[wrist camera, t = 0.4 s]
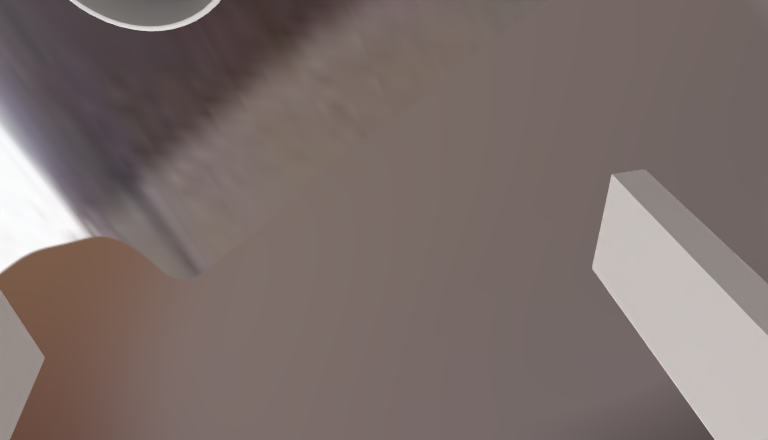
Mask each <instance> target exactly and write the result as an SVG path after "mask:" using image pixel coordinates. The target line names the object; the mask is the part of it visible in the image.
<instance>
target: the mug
mask: <svg viewBox="0 0 768 440" xmlns="http://www.w3.org/2000/svg"><path fill="white" fill-rule="evenodd" d="M70 1H71V2H73V3H74V4H75V5H77V6H78V7H80V8H81V9H83V10H84V11H86V12H88V13H89V14H91V15H93V16H95V17H97V18H99V19H101V20H103V21H106V22H108V23H111V24H114V25H117V26H120V27H124V28H129V29H133V30H142V31H163V30H169V29H175V28H178V27H182V26H185V25H187V24H190V23H192V22H194V21H196V20H198V19H199V18H201V17H203V16H204V15H206V14H207V13H208V12H209V11H211V10H212V9H213V8H214V7H215V6H216V5H217V4H218V3H219V2H220V1H221V0H70Z"/></svg>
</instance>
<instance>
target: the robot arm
mask: <svg viewBox="0 0 768 440" xmlns="http://www.w3.org/2000/svg"><path fill="white" fill-rule="evenodd" d="M592 269H593V270H594V272H595V273H596V274H597V276H598V277H599V279H600V280H601V281H602V283H603V284H604V286H605V287H606V288H607V290H608V291H609V293H610V294H611V295H612V297H613V298H614V300H615V301H616V302H617V304H618V305H619V307H620V308H621V309H622V311H623V312H624V314H625V315H626V316H627V318H628V319H629V321H630V322H631V323H632V325H633V326H634V328H635V329H636V330H637V332H638V333H639V335H640V336H641V337H642V339H643V340H644V342H645V343H646V344H647V346H648V347H649V349H650V350H651V351H652V353H653V354H654V356H655V357H656V358H657V360H658V361H659V362H660V364H661V365H662V366H663V368H664V369H665V371H666V372H667V374H668V375H669V376H670V378H671V379H672V381H673V382H674V383H675V385H676V386H677V387H678V389H679V390H680V392H681V393H682V395H683V396H684V397H685V399H686V400H687V402H688V403H689V404H690V406H691V407H692V409H693V410H694V411H695V413H696V414H697V416H698V417H699V418H700V420H701V421H702V423H703V424H704V425H705V427H706V428H707V430H708V431H709V432H710V434H711V435H712V437H713V438H714V439H715V440H768V284H767V283H766V282H765V281H764V280H763V279H762V278H761V277H759V275H757V274H756V273H755V272H754V271H753V270H752V269H751V268H750V267H749V266H748V265H747V264H746V263H745V262H744V261H742V260H741V259H740V258H739V257H738V256H737V255H736V254H735V253H734V252H733V251H732V250H731V249H730V248H729V247H727V246H726V245H725V244H724V243H723V242H722V241H721V240H720V239H719V238H718V237H717V236H716V235H715V234H714V233H712V232H711V231H710V230H709V229H708V228H707V227H706V226H705V225H704V224H703V223H702V222H701V221H700V220H698V219H697V218H696V217H695V216H694V215H693V214H692V213H691V212H690V211H689V210H688V209H687V208H685V207H684V206H683V205H682V204H681V203H680V202H679V201H678V200H677V199H676V198H675V197H674V196H673V195H672V194H671V193H669V192H668V191H667V190H666V189H665V188H664V187H663V186H662V185H661V184H660V183H659V182H658V181H657V180H655V179H654V178H653V177H652V176H651V175H650V174H649V173H648V172H647V171H646V170H645V169H643V170H637V171H630V172H623V173H616V174H612V176H611V181H610V186H609V190H608V195H607V200H606V204H605V209H604V214H603V219H602V223H601V229H600V233H599V237H598V242H597V247H596V252H595V257H594V261H593V266H592ZM44 358H45V357H44V356H43V354H42V353H41V351H40V350H39V348H38V347H37V345H36V344H35V342H34V341H33V339H32V338H31V336H30V335H29V333H28V332H27V330H26V328H25V327H24V325H23V324H22V322H21V321H20V319H19V318H18V316H17V315H16V313H15V312H14V310H13V309H12V307H11V306H10V304H9V303H8V301H7V300H6V298H5V297H4V295H3V293H2V292H1V290H0V440H10V438H11V436H12V433H13V431H14V429H15V426H16V424H17V422H18V419H19V417H20V414H21V412H22V410H23V408H24V405H25V402H26V401H27V398H28V396H29V393H30V391H31V389H32V387H33V384H34V382H35V379H36V377H37V375H38V372H39V370H40V368H41V365H42V363H43V361H44Z"/></svg>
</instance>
